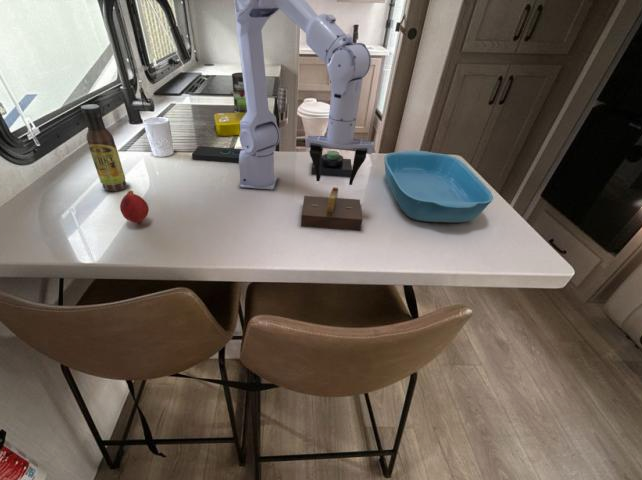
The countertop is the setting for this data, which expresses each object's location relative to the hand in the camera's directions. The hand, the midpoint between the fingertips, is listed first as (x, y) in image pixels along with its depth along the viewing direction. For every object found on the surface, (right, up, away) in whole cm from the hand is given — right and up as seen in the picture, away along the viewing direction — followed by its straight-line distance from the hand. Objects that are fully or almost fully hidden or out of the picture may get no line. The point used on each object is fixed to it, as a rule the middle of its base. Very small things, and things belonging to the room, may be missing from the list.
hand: (334, 181), depth 78 cm
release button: (+3, +15, +23) cm, 28 cm away
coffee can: (-30, +58, +72) cm, 97 cm away
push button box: (+3, +13, +26) cm, 29 cm away
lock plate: (0, -8, +4) cm, 9 cm away
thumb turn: (0, -5, +2) cm, 6 cm away
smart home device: (-32, +19, +32) cm, 49 cm away
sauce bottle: (-58, +3, +13) cm, 60 cm away
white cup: (-53, +21, +33) cm, 65 cm away
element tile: (-32, +39, +53) cm, 73 cm away
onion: (-46, -10, 0) cm, 47 cm away
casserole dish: (+27, 0, +13) cm, 30 cm away
